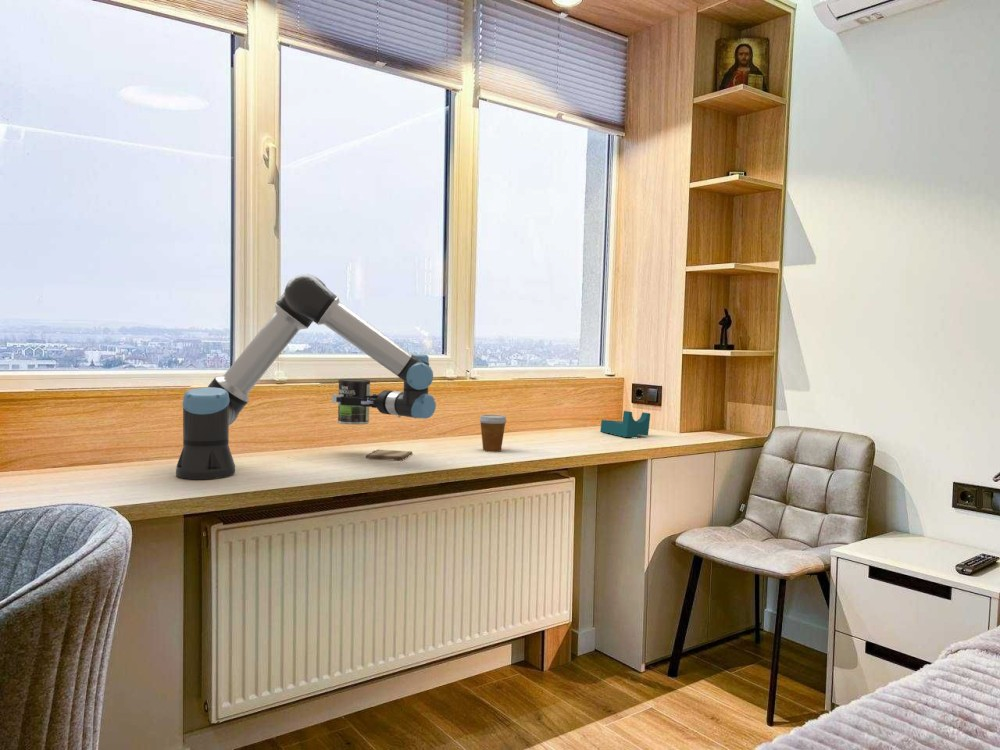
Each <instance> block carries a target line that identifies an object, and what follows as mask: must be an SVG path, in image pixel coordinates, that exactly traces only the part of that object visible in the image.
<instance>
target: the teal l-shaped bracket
mask: <svg viewBox="0 0 1000 750" xmlns="http://www.w3.org/2000/svg"><path fill="white" fill-rule="evenodd" d="M622 415H623V417H622V420H607V419H601V421H600V422H601V423H600V430H599V432H600V433H604V432H605V434H608V433H610V435H612V434H614V436H617V435H618V437H621V436H623V437H622V438H625V437H637V438H638V436H649V429H650V421H651V413H650V412H641V415H640V417H639V419H637V420H635V419H634V417H633V411H627V410H623V413H622Z"/></svg>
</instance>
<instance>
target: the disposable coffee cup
mask: <svg viewBox="0 0 1000 750" xmlns="http://www.w3.org/2000/svg"><path fill="white" fill-rule="evenodd" d="M478 421H479V422H480V430H481V431H480V432H481V441H482V442H481V443H482V451H484V450H485V451H484V452H488V451H498V452H501V451H502V446H503V441H504V433H505V428H506V427H505V426H506V422H507V421H508V420H507V418H506V416H505V415H501V414H482V415H480V417H479V419H478Z"/></svg>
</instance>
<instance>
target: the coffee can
mask: <svg viewBox="0 0 1000 750" xmlns="http://www.w3.org/2000/svg"><path fill="white" fill-rule="evenodd" d="M343 394H346V396H351V397H364V396H370V394H371V380H370V379H364V378H363V379H362V378H340V379H338V395H343ZM368 399H369V398H367V401H368ZM337 404H338V405H337V406H338V409H337V423H338V424H339V425H340V424H341V425H342V424H343V425H355V426H356V425H367V424H369V423H370V407H363V406H352V405H340V403H337ZM368 405H369V404H368Z"/></svg>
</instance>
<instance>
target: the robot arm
mask: <svg viewBox="0 0 1000 750" xmlns="http://www.w3.org/2000/svg"><path fill="white" fill-rule="evenodd" d="M274 305H275V312H274V313H273V315H271V317H269V319H268V320H267V322H266V323H265V324H264V325H263V326H262V328H261V329H260V330H259V331H258V332H257V334H256V335H255V336H254V337H253V339H252V340H251V341H250V342H249V344H248V345H247V346H246V347H245V348H244V350H243V351H242V352H241V354H240V355H239V356H238V357H237V359H236V360H235V361H234V362H233V364H232V365H231V366H230V367H229V368H228V370H227V371H226V372H225V373H224V374H223V375H219V376H215V377H214V378H213V379H212V381H211V382H210V383H209V384H208V385H207V387H205V386H204V387H198V388H190V389H188V390H186V392H185V393H184V394H183V399H182V423H183V424H182V449H181V453H180V456H179V457H178V461H177V464H176V468H175V476H176V477H177V478H179V479H180V478H181V479H186V480H211V479H213V480H214V479H223V478H226V477H231V476H233V475H235V474H236V464H235V461H234V458H233V455H232V452H231V449H230V445H229V444H230V443H229V442H230V441H229V439H230V437H229V435H230V433H229V431H230V429H229V428H230V427H229V426H230V425H232V424H233V423H234V422H235V421H236V420H237V419H238V415H240V413H241V411H242V410H243V409H244V408H245V407H246V405H247V404H248V403H249V401H250V398H249V393H250V392H251V391H252V389H254V387H255V386H256V384H257V383H258V382H259V380H260V379H261V378H262V377H263V375H265V373H266V372H267V371H268V370H269V368H270V367H271V366H272V365H273V364H274V362H275V361H276V359H277V358H278V357H279V356H280V355H281V354H282V352H283V351H284V350H285V348H286V347H287V346H288V345H289V344H290V342H291V341H292V340H293V339H294V338H295V337H296V335H297V334H298V333H299V331H301V330H305V329H308V328H309V327H310V326H311V324H312V323H313V322H314V323H315V324H316V325H318V326H319V325H324V326H326V327H327V328H329V329H330V330H331V331H333V332H334V333H335V334H337V335H338V336H340V337H341V338H343V339H345V341H347V343H349V344H351V345H353V346H354V347H356V348H357V349H358V350H360V351H361V352H363V353H364V354H365V355H367V356H368V357H370V358H371V359H372V360H374V361H376V362H377V363H378V364H379V365H381V366H383V367H384V368H386V369H387V370H388V371H390V372H391V373H392V374H394V375H395V376H396V377H398V378H399V379H401V380H402V381H403V389H402V390H403V391H399V390H389V389H387V390H385V389H384V390H382V391H380V393H378V394H377V393H370V396H364V397H351V396H346V394H343V395H339V393H338V394H335V393H332V394H331V403H333V404H338V403H340V405H352V406H363V407H369V408H373V409H377V410H378V411H379V413H381V414H383V415H390V416H391V415H392V416H397V418H399V419H400V418H401V417H405V418H406V417H407V418H414V419H429V418H431V417H432V416H433V415H434V414H435V411H436V408H437V403H436V401H435V397H434V396H433V395H432V394H430V393H429V387H430V386H431V384H432V383H433V380H434V371H433V369H432V367H431V366H430V361H429V360H430V359H429V358H430V357H429V356H428V355H427V354H423V353H422V354H421V353H419V354H418V353H410V351H409V350H407V349H405V348H404V347H402V346H401V345H399V343H397V342H396V341H394V340H393V339H391V338H390V337H389V336H387V335H386V334H384V333H383V332H382V331H380V330H379V329H377V328H376V327H375V326H373V325H372V324H370V323H369V322H368V321H366V320H365V319H364V318H362V317H361V316H359V315H358V314H357V313H355V312H354V311H352V310H351V309H350V308H349V307H347V306H345V305H344V304H343V303H341V301H340V297H339V296H337V295H336V294H335V293H334V292H332V291H331V289H329V288H328V287H327V286H326V284H325V283H324V281H322V280H321V279H319V278H318V277H317V276H315V275H313V274H309V273H302V274H297V275H295V276H293V277H291V278H290V279H289V280H288V282H287V283H286V286H285V288H284V291H283V293H282V294H281V296H280V297H279V298H278V299H277V301H276V302H275V303H274ZM367 398H369V399H368V401H367ZM368 404H369V405H368Z"/></svg>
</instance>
